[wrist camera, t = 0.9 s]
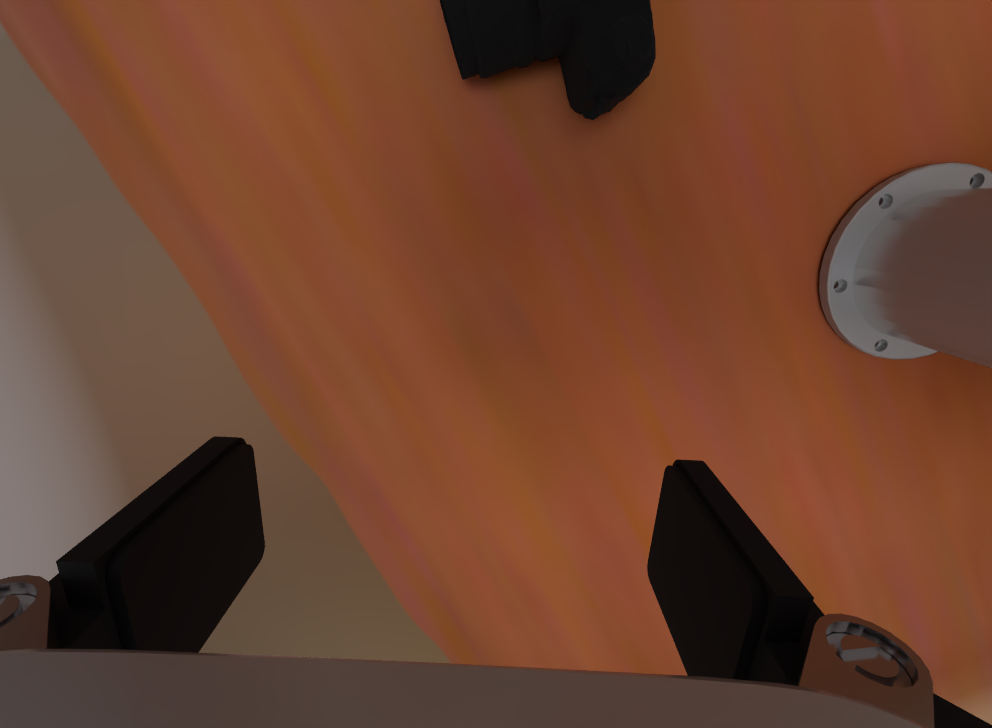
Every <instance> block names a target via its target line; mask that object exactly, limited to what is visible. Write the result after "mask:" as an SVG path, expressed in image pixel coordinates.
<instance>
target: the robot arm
mask: <svg viewBox="0 0 992 728" xmlns="http://www.w3.org/2000/svg"><path fill="white" fill-rule="evenodd" d="M819 293H820V299H821V305H822V309H823V311H824V314H825V316H826V319H827V321H828V323H829V324H830V326H831V327H832V329H833V330H834V332H835V333H836V334H837V335H838V336H839V337H840V338H841V339H842V340H844V341H845V342H846V343H847V344H848V345H850V346H852V347H854V348H856V349H858V350H860V351H862V352H865V353H868V354H870V355H873V356H876V357H881V358H887V359H894V360H895V359H913V358H918V357H923V356H928V355H931V354H934V353H936V352H942V353H945V354H948V355H951V356H955V357H958V358H961V359H964V360H967V361H971V362H974V363H977V364H980V365H983V366H986V367H990V368H992V172H991V171H989V170H988V169H985V168H982V167H979V166H975V165H972V164H965V163H952V162H951V163H940V164H930V165H925V166H921V167H916V168H912V169H909V170H907V171H904V172H902V173H899V174H897V175H895V176H892V177H890V178H889V179H887V180H886V181H884V182H882V183H881V184H879V185H878V186H876V187H874V188H873V189H872V190H870V191H869V192H868V193H867V194H866V195H865V196H864V197H862V198H861V199H860V200H859V201H858V202H857V203H856V204H855V205H854V206H853V207H852V209H851V210H850V211H849V212H848V213H847V214H846V216H845V217H844V218H843V219H842V221H841V222H840V224H839V226H838V227H837V229H836V230H835V232H834V234H833V235H832V237H831V240H830V242H829V244H828V247H827V249H826V252H825V254H824V257H823V262H822V266H821V271H820V283H819ZM264 548H265V541H264V534H263V525H262V517H261V508H260V501H259V492H258V484H257V475H256V467H255V459H254V451H253V448H252V446H251V445H248V444H246V442H245V440H244V439H242V438H236V437H213V438H211V439H210V440H208V441H207V442H206V443H205V444H204V445H202V446H201V447H200V448H198V449H197V450H196V451H195V452H193V453H192V454H191V455H190V456H188V457H187V458H186V459H185V460H183V461H182V462H181V463H179V464H178V465H177V466H176V467H175V468H173V469H172V470H171V471H169V472H168V473H167V474H166V475H165V476H163V477H162V478H161V479H159V480H158V481H157V482H155V483H154V484H153V485H152V486H150V487H149V488H148V489H147V490H146V491H144V492H143V493H142V494H141V495H139V496H138V497H137V498H135V499H134V500H133V501H132V502H130V503H129V504H128V505H127V506H125V507H124V508H123V509H122V510H120V511H119V512H118V513H116V514H115V515H114V516H113V517H111V518H110V519H109V520H108V521H106V522H105V523H104V524H103V525H101V526H100V527H99V528H98V529H96V530H95V531H94V532H93V533H91V534H90V535H89V536H88V537H86V538H85V539H84V540H83V541H81V542H80V543H79V544H78V545H76V546H75V547H74V548H72V549H71V550H70V551H69V552H67V554H65V555H64V556H62V557H61V558H60V559H58V560H57V561H56V563H57V567H58V570H59V574H57V575H56V576H55V577H54V578H52V580H50V581H49V582H48V581H47V580H45V579H44V578H42V577H40V576H31V575H23V576H13V577H8V578H4V579H0V728H992V725H990V724H989V723H987V722H985V721H983V720H981V719H979V718H978V717H976V716H974V715H972V714H970V713H968V712H967V711H965V710H963V709H961V708H959V707H957V706H956V705H954V704H952V703H950V702H948V701H947V700H945V699H943V698H941V697H939V696H937V695H936V694H934V693H933V682H932V679H931V675H930V672H929V670H928V668H927V667H926V665H925V664H924V662H923V661H922V660H921V658H920V657H919V656H918V655H917V654H916V653H915V652H914V651H913V650H912V649H911V648H910V647H909V646H908V645H907V644H905V643H904V642H903V641H901V640H900V639H899V638H897V637H896V636H894V635H893V634H892V633H890V632H888V631H887V630H885V629H883V628H881V627H879V626H877V625H876V624H874V623H871V622H869V621H866V620H863V619H861V618H858V617H855V616H850V615H845V614H827V615H824V614H823V613H822V611H821V610H820V609H819V608H818V606H817V605H816V604H815V603H814V601H813V599H814V597H813V596H812V595H811V594H810V592H809V591H808V590H807V589H806V587H805V586H804V585H803V584H802V582H801V581H800V580H799V579H798V577H797V576H796V575H795V574H794V572H793V571H792V570H791V569H790V568H789V566H788V565H787V564H786V563H785V561H784V560H783V559H782V558H781V556H780V555H779V554H778V553H777V551H776V550H775V549H774V548H773V546H772V545H771V544H770V543H769V541H768V540H767V539H766V538H765V537H764V535H763V534H762V533H761V532H760V530H759V529H758V528H757V527H756V525H755V524H754V523H753V522H752V520H751V519H750V518H749V517H748V515H747V514H746V513H745V512H744V511H743V509H742V508H741V507H740V506H739V504H738V503H737V502H736V501H735V499H734V498H733V497H732V496H731V494H730V493H729V492H728V491H727V489H726V488H725V487H724V486H723V485H722V483H721V482H720V481H719V480H718V478H717V477H716V476H715V475H714V473H713V472H712V471H711V470H710V468H709V467H708V466H707V465H706V463H704V462H703V461H695V460H676V461H675V462H674V463H673V466H667V467H666V469H665V472H664V477H663V482H662V488H661V493H660V498H659V504H658V509H657V515H656V520H655V525H654V531H653V536H652V542H651V547H650V552H649V558H648V565H647V569H648V577H649V580H650V583H651V585H652V588H653V590H654V593H655V595H656V598H657V600H658V603H659V605H660V608H661V610H662V613H663V615H664V618H665V620H666V623H667V625H668V628H669V630H670V633H671V635H672V637H673V640H674V642H675V645H676V647H677V650H678V652H679V655H680V657H681V660H682V662H683V665H684V667H685V670H686V672H687V675H688V676H682V675H664V674H645V673H626V672H607V671H588V670H569V669H550V668H531V667H512V666H493V665H472V664H450V663H429V662H408V661H384V660H364V659H363V660H362V659H342V658H340V659H339V658H318V657H293V656H269V655H243V654H218V653H198V652H199V651H200V649H201V648H202V646H203V645H204V643H205V642H206V641H207V639H208V638H209V636H210V635H211V633H212V632H213V630H214V629H215V627H216V626H217V624H218V623H219V622H220V620H221V618H222V617H223V615H224V614H225V613H226V611H227V610H228V608H229V607H230V605H231V604H232V602H233V601H234V599H235V598H236V596H237V595H238V594H239V592H240V591H241V589H242V588H243V586H244V585H245V583H246V582H247V580H248V579H249V577H250V576H251V574H252V573H253V571H254V570H255V569H256V567H257V566H258V564H259V563H260V561H261V559H262V557H263V553H264Z"/></svg>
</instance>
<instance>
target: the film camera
mask: <svg viewBox="0 0 992 728" xmlns="http://www.w3.org/2000/svg"><path fill="white" fill-rule="evenodd" d="M440 3H441V7H442V10H443V15H444V20H445V23H446V26H447V29H448V33H449V36H450V40H451V43H452V47H453V50H454V54H455V58H456V61H457V64H458V67H459V71H460V74H461V77H462V79H466V78H469V77H472V76H474V75H477V74H479V76H480V77H481V78H488V77H490V76H493V75H495V74H498V73H500V72H503V71H506V70H508V69H510V68H513V67H516V66H518V67H519V68H523V67H526V66H529V65H531V63H532V62H533V60H536V59H537V60H539V61H546V60H548V59H551V58H553V57H556V56H558V57H559V61H560V64H561V68H562V73H563V77H564V81H565V86H566V91H567V97H568V100H569V103H570V106H571V108H572V109H574V111H575V112H577V113H579V114H583V116H584V118H588V119H592V120H594V119H595V118H597V117H598V116H599V115H601V114H604V113H606V112H609V111H611V110H612V108H613V107H615V106H616V105H617V104H618V103H619V102H620V101H622V100H624V99H625V98H626V97H627V96H629V95H630V94H631V93H632V92H633V91H634V90H635V89H636V88H637V87H638V86H639V85H640V84H641V83H642V82H643V81H644V80H645V79H646V78H647V77H648V76H649V74H650V71H651V69H652V66H653V63H654V60H655V35H654V29H653V19H652V11H651V6H650V0H440Z"/></svg>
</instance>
